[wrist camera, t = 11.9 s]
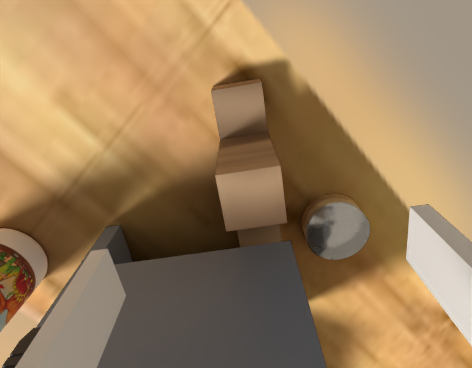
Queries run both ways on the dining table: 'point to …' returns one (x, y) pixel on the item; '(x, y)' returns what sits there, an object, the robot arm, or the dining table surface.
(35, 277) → the milk bottle
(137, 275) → the cabinet
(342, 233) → the puck
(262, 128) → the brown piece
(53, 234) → the dining table surface
